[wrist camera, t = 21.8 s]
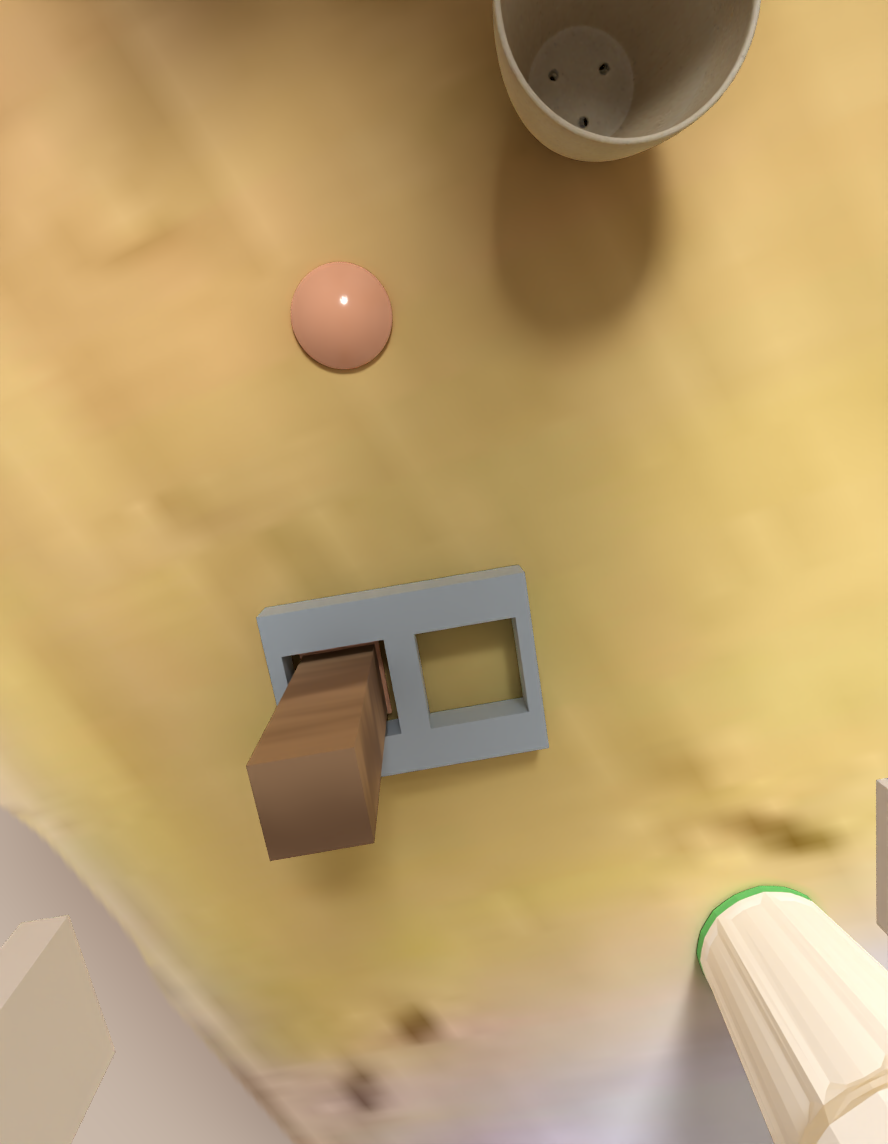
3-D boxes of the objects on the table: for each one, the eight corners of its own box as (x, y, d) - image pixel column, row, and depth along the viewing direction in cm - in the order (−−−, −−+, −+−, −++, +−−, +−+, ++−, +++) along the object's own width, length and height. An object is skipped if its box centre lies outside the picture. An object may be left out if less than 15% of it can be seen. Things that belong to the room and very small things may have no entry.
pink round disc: (281, 271, 31) (281, 270, 31) (382, 255, 31) (382, 254, 31) (302, 376, 32) (302, 376, 32) (400, 360, 32) (400, 360, 32)
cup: (885, 876, 40) (1170, 1140, 25) (815, 1037, 42) (1036, 1366, 27) (701, 838, 39) (883, 1090, 24) (639, 1005, 41) (769, 1332, 26)
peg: (302, 655, 35) (246, 766, 23) (374, 643, 35) (354, 747, 23) (317, 722, 36) (270, 860, 24) (387, 710, 36) (374, 842, 24)
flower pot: (513, 240, 31) (542, 182, 24) (445, 17, 29) (455, -117, 22) (706, 167, 31) (791, 87, 24) (650, -63, 29) (726, -224, 22)
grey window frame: (265, 607, 34) (256, 617, 32) (518, 564, 35) (524, 572, 33) (303, 772, 36) (297, 791, 35) (541, 731, 37) (549, 747, 35)
